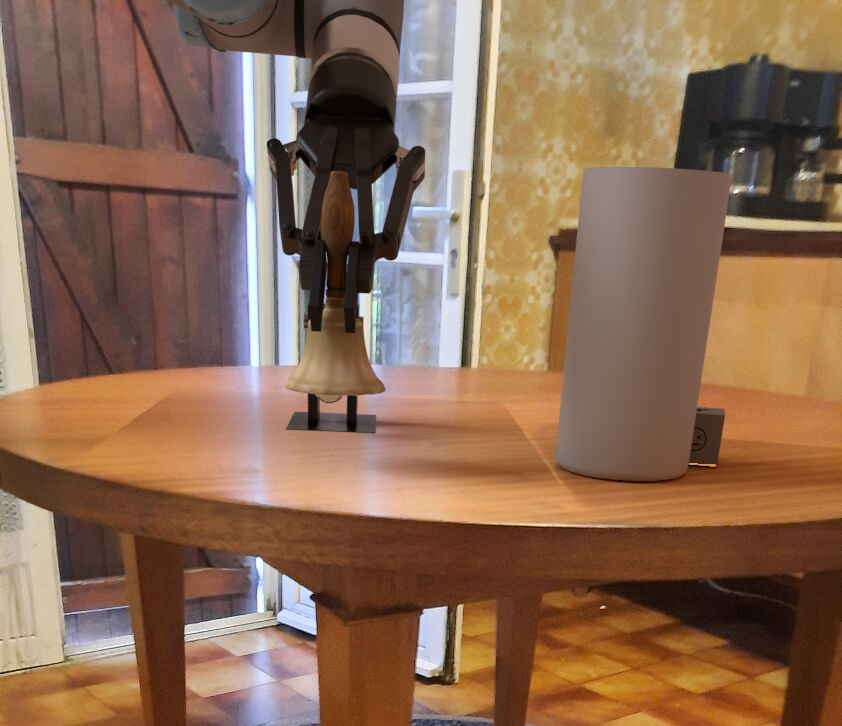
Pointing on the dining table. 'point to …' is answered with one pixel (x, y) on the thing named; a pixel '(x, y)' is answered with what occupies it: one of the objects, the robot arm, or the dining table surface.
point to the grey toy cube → (707, 435)
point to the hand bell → (336, 312)
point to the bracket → (332, 420)
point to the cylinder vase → (639, 319)
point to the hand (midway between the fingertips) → (332, 319)
